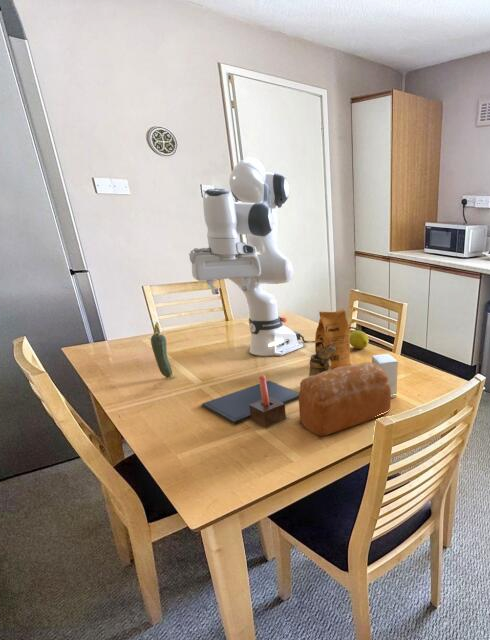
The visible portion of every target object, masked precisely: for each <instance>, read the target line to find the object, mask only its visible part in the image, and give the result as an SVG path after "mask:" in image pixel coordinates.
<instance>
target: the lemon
mask: <svg viewBox="0 0 490 640" xmlns="http://www.w3.org/2000/svg"><path fill="white" fill-rule="evenodd" d="M349 334H350V346H351V347H353V348H354V349H357V350H364V349H365V348H367V346H369V341H370V339H369V336H368V334H367V333H366V332H364V331H362V330H358V331H357V330H353V331H351V332H349ZM364 347H365V348H364Z"/></svg>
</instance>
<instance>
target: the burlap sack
mask: <svg viewBox="0 0 490 640" xmlns="http://www.w3.org/2000/svg"><path fill="white" fill-rule="evenodd" d="M335 351H336V347H335V346H332V345H328V346H326V347H324V348H322V349H321V350H320V351H319V353H318V354H316V353H313V354H312V355H311V356H310V359H309V363H308V364H309V373H308V377H309V376H315V375H317V374H319V373H322V372H324V371H328V370H332V369H331V368H330V366H331V362H330V358H331V357H332V356H333V355H334V353H335Z"/></svg>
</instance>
